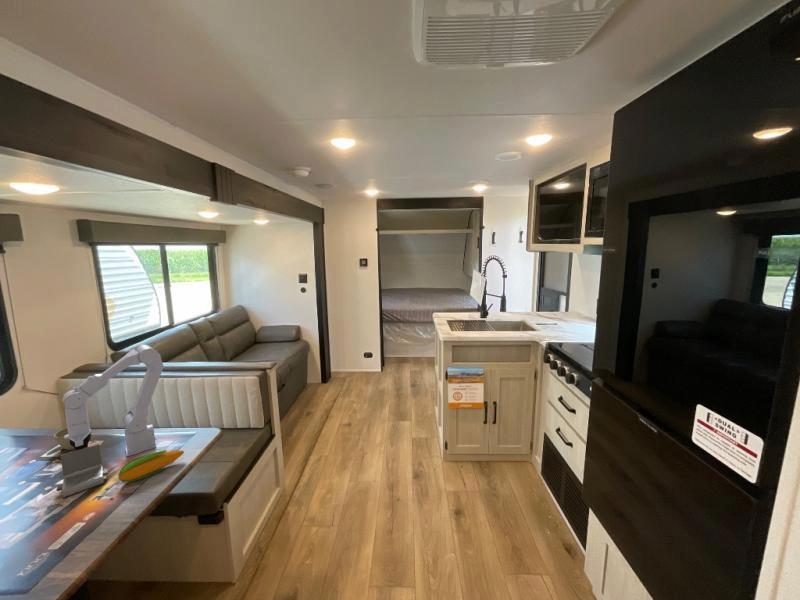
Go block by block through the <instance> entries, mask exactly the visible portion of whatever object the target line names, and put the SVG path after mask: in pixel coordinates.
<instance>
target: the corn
mask: <svg viewBox="0 0 800 600" xmlns="http://www.w3.org/2000/svg"><path fill="white" fill-rule="evenodd" d="M184 454H185V450H180V449H174V450H170V451H167V450H160V451H155V452H153V453H150V454H147V455H144V456H140V457H137V458H135V459H133V460H131V461H129V462H128V463H126V464H125V465H124V466H123V467H122V468H121V469H120V471H119V473H118V475H117V477H118V479H119V481H121V482H123V483H124V482H125V483H129V482H136V481H139V480H143V479H145V478H148V477H150V476H153V475H155V474H157V473H159V472H161V471H163V470H165V469H166V467H167V466H169V465H172V464H173V462H175V461H176V460H178V459H179V458H180V457H181V456H182V455H184Z"/></svg>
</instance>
